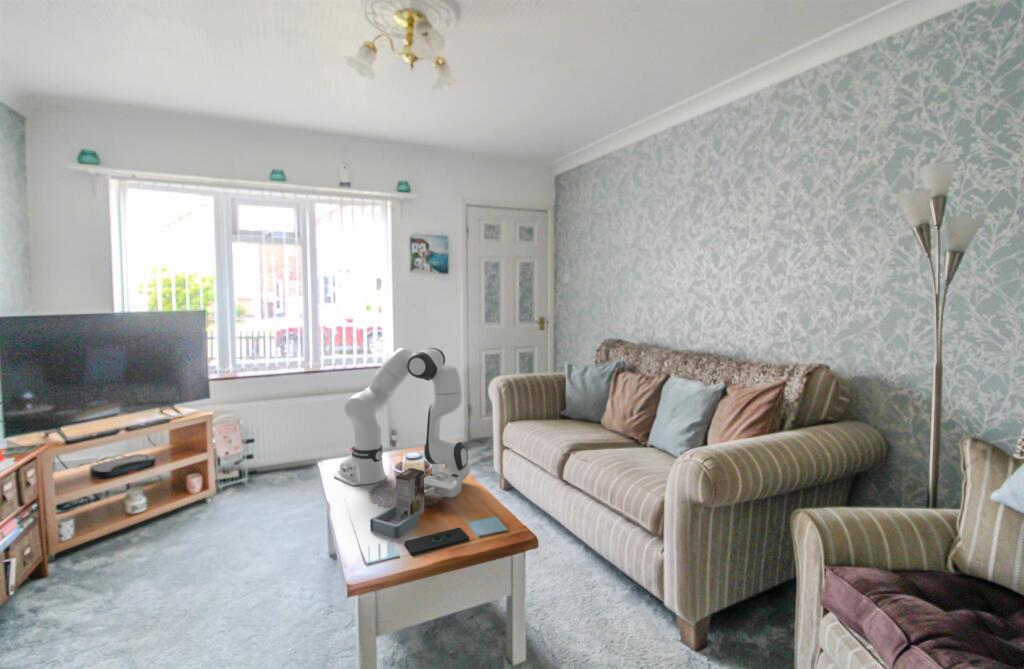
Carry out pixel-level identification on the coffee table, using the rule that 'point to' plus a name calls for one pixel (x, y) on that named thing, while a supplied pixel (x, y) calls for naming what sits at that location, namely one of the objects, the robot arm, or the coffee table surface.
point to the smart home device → (436, 541)
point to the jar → (434, 465)
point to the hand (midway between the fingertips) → (422, 493)
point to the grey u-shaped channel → (389, 529)
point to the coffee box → (409, 493)
